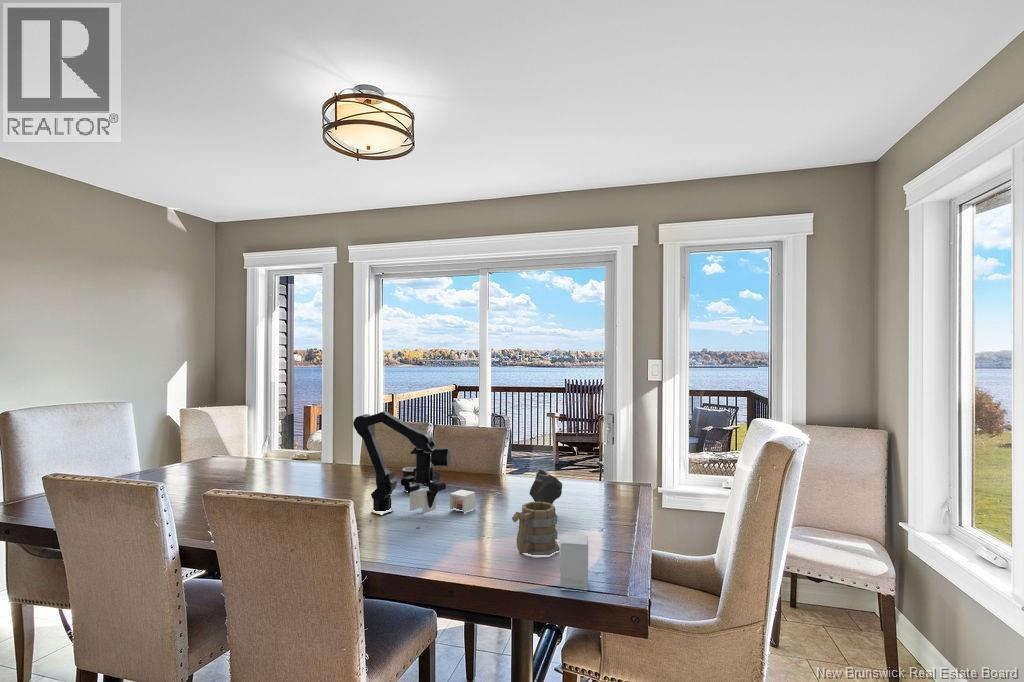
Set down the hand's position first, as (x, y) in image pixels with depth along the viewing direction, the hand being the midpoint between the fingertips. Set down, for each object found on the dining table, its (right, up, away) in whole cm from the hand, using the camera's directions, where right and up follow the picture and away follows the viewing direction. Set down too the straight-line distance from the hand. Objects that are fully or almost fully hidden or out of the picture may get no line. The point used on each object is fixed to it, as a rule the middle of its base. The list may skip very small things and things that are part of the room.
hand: (423, 505), depth 202 cm
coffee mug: (-10, -4, +31) cm, 33 cm away
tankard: (+41, -3, -39) cm, 56 cm away
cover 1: (0, -2, 0) cm, 2 cm away
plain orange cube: (+15, -4, +5) cm, 16 cm away
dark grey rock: (+47, -4, -2) cm, 48 cm away
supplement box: (+51, -3, -61) cm, 80 cm away
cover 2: (+15, -3, +5) cm, 16 cm away
